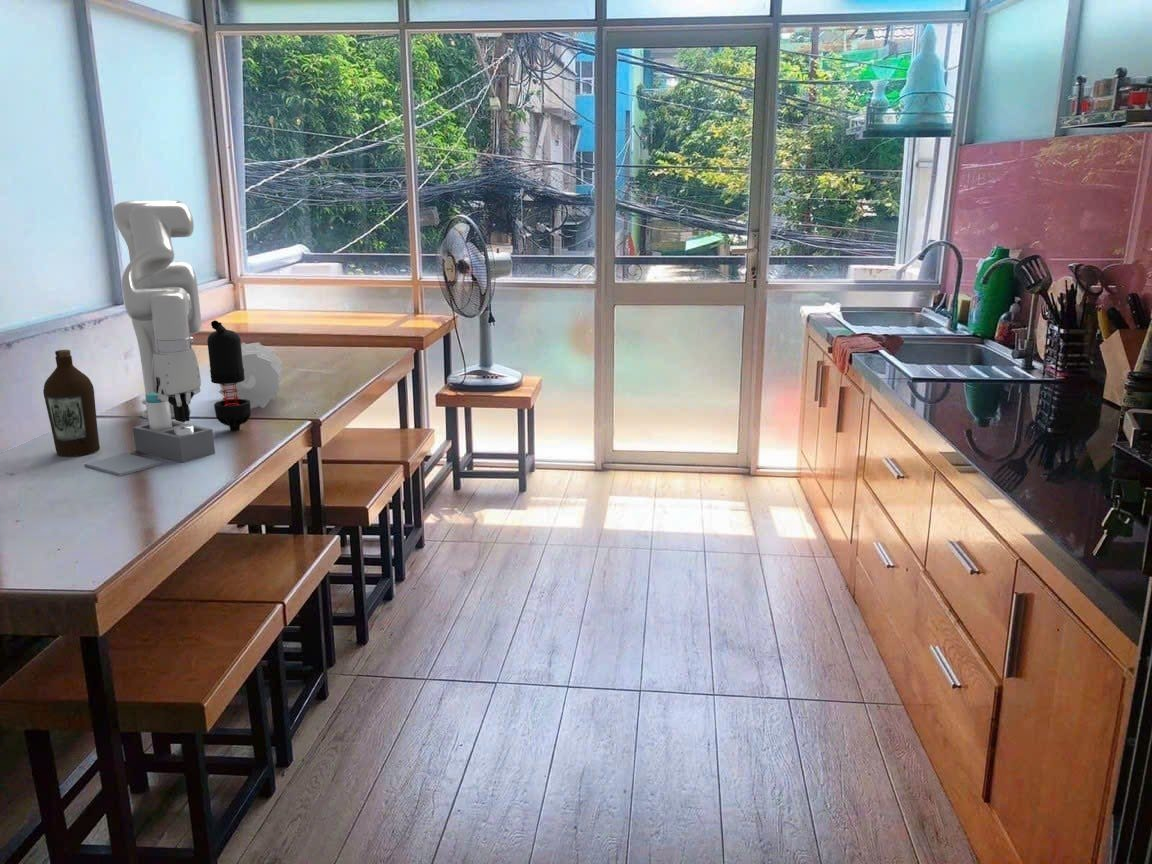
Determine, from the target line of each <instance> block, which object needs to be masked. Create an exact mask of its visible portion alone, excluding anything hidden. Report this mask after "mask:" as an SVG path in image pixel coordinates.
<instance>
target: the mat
mask: <svg viewBox="0 0 1152 864" xmlns="http://www.w3.org/2000/svg"><path fill="white" fill-rule="evenodd" d="M161 464H162V462H161V461H160V460H159V461H158V460H155V459H150V458H147V457H143V456H139V455H134V454H129V453H127V452H124V453H120V454H115V455H113V456H109V457H105V458H101V459H97V460H94V461H89V462H87V463H86V462H85V463H84V467H87V468H91V469H93V468H94V470H98V471H101V472H106V473H109V474H112V473H113V475H116V476H119V475H120V477H122V475H123V476H126V475H130V474H133V473H136V471H137V472H139V471H142V470H143V469H144V470H146V468H147V469H150V468H153V467H157V466H161ZM149 467H150V468H149ZM129 473H130V474H129Z"/></svg>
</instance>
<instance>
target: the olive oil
mask: <svg viewBox="0 0 1152 864" xmlns="http://www.w3.org/2000/svg"><path fill="white" fill-rule="evenodd" d="M54 354H55V363H56V368H55V369H54V370H53V372H51V374H50V375H49V376H48V378H47V379H46V380H45V382H44V385H43V390H42V391H43V396H44V397H43V398H44V401H45V405H46V410H47V415H48V420H49V424H50V429H51V433H52V438H53V444H54V447H55V453H56V455H57V456H58V457H69V458H70V457H79V456H86V455H89V454H94V453H95V452H96V453H97V452H98V451H99V450H100V447H101V446H100V439H99V438H100V437H99V429H98V421H97V419H98V418H97V410H96V400H95V397H96V396H95V390H94V389H95V388H94V384H93V383H92V381H91V379H90V378H89V377H88V376H87V375H86V374H85V373H83V372H82V371H81V370H79V369H78V368H77V367H76V366H74V365H73V357H72V355H71V350H70V349H59V350H55V351H54Z"/></svg>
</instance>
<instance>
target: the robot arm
mask: <svg viewBox="0 0 1152 864" xmlns="http://www.w3.org/2000/svg"><path fill="white" fill-rule="evenodd" d="M112 212H113V214H112V215H113V218H114V222H115V224H116V226H117V229H118V232H119V233H120V235H121V236H122V238H123V239H124V242H125V243H126V246H127V249H128V255H129V263H128V264H127V265H126V267H125V269H124V271H123V273H122V277H121V290H122V295H123V301H124V307H125V310H126V313H127V315H128V317H129V318H130V319H131V323H132V326H133V330H134V333H135V338H136V340H137V346H138V350H139V357H140V363H141V369H142V379H143V385H144V393H145V395H146V394H148V393H153V392H155V393H158V400H159V401H168V402H169V405H170V413H171V419H174V420H175V422H180V423H186V422H190V420H191V419H190V413H191V407H190V406H189V405H190V404H191V402H192V401H191V400H192V399H193V397H194V396H196V395H198V394H199V393H201V383H202V381H201V380H202V379H201V372H200V368H199V362H198V359H197V356H196V353H195V350H194V349H193V348H192V344H193V343H195V338H194V337H192V336H191V335H195V334H197V333H199V332H200V330H201V327H202V316H201V315H202V314H201V306H200V298H199V289H198V288H199V287H198V282H197V280H198V279H197V275H196V272H195V270H194V267H193V266H192V265H191V264H189V263H188V262H184V261H174V260H175V252H174V248H173V243H172V238H189V237H191V236H192V235H193V234H194V233H193V232H194V219H193V215H192V212H191V210H190V208H189V206H188V205H187V204H186V203H185V202H183V201H180V200H127V201H120V202H118V203H117V204H115V205H114V207H113V211H112ZM166 395H167V396H166ZM141 403H142V405H145V407H146V408H145V410H142V412H141V417H142V418H144V419H147V420H149V418H148V411H147V403H146V397H145V399H142V400H141Z"/></svg>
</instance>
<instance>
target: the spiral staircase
mask: <svg viewBox="0 0 1152 864" xmlns="http://www.w3.org/2000/svg"><path fill="white" fill-rule="evenodd" d="M241 350H242V361H243V368H244V376H245V377H244V378H245V379H244V381H242V382H238V383H237V384H235V385H236V389H237V390H238V391H237V392H233V393H227V397H230V396H234V393H235V396H236V393H237V397H238V399H247V400H250V407H251V410H252V409H255V408H258V407H260V408H262V409H264V408H265V407H266V406H267V405H268V404H269V403H270V401H272V399H273V400H277V396H278V392H280V391H281V385H280V383H281V382H280V381H281V380H282V379H283V375H282V369H281V365H283V361H282V360H280V358H279V357H278V356H277V355H276V354H275V349H273V348H270V347H267V346H264V345H262V344H261V342H253V343H245V342H244V341H242V342H241ZM232 384H234V383H232ZM226 385H227V384H226ZM235 385H234V389H235ZM219 387H220V390H219V391H218V393H219V394H221V395H222V396H223V397H224V392H222V391H223V390H227V389H233V385H230V386H223V385H222V384H219ZM232 391H235V390H228V391H227V392H232ZM225 392H226V391H225ZM225 397H226V393H225ZM225 397H224V398H225ZM226 399H234V397H231V398H226Z"/></svg>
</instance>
